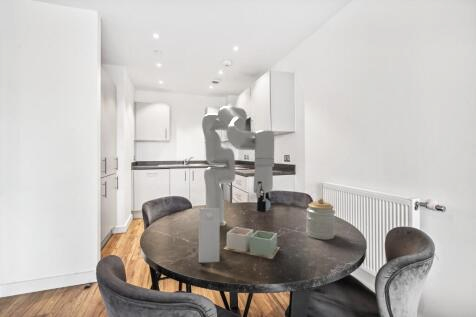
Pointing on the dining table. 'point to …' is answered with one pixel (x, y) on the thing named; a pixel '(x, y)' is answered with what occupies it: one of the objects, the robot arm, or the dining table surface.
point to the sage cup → (263, 243)
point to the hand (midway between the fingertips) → (263, 209)
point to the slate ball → (267, 204)
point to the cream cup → (239, 238)
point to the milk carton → (209, 234)
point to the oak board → (253, 253)
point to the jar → (320, 220)
